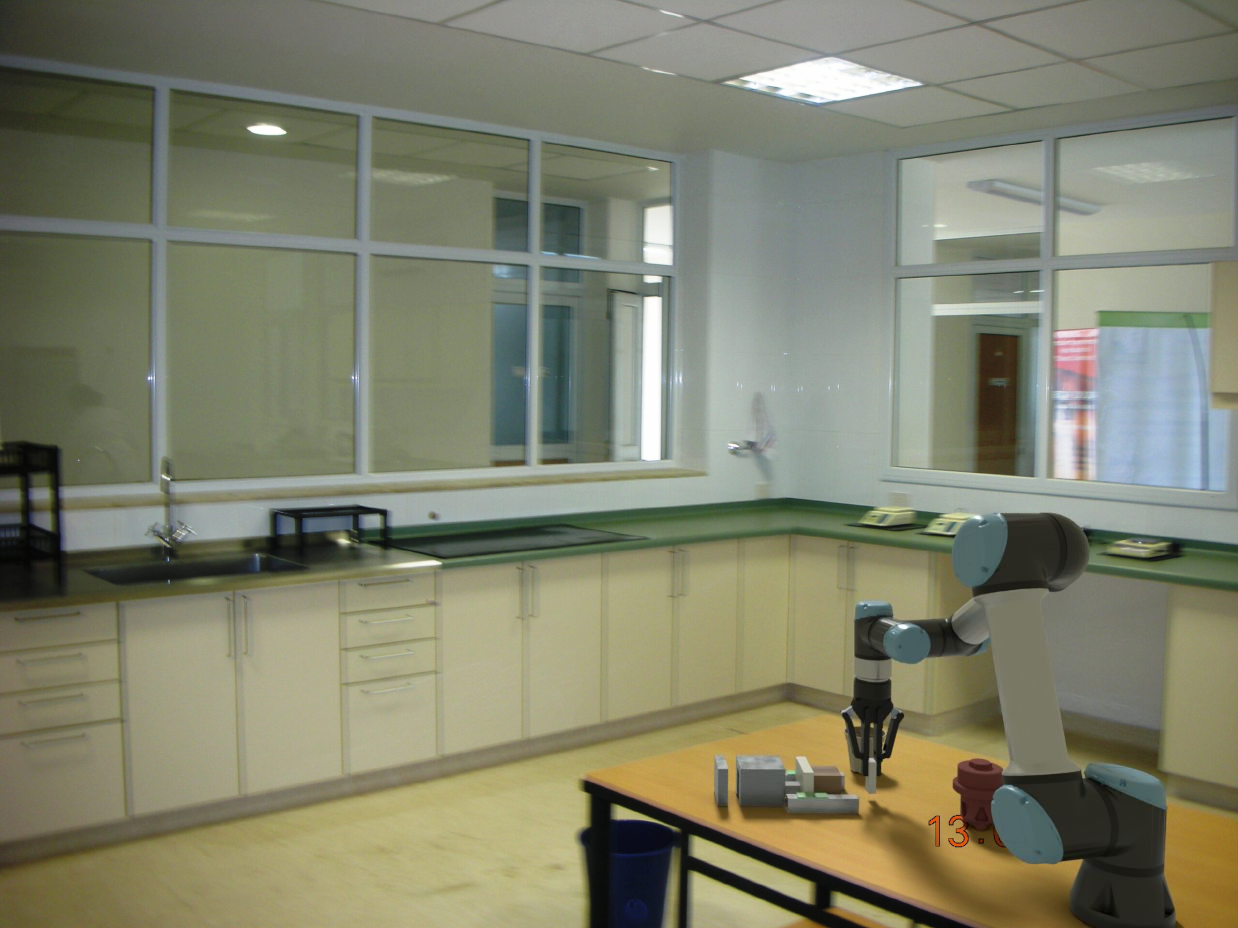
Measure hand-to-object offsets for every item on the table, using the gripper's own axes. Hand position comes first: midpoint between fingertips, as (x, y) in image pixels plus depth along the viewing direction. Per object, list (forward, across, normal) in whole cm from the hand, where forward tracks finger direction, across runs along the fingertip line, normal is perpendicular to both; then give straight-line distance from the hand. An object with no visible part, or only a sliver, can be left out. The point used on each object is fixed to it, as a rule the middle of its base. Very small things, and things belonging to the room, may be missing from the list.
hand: (870, 791), depth 217 cm
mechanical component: (+2, -18, +13) cm, 22 cm away
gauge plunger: (+1, +20, 0) cm, 20 cm away
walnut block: (+2, +10, 0) cm, 10 cm away
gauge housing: (+2, +18, 0) cm, 18 cm away
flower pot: (+2, -3, -18) cm, 19 cm away
